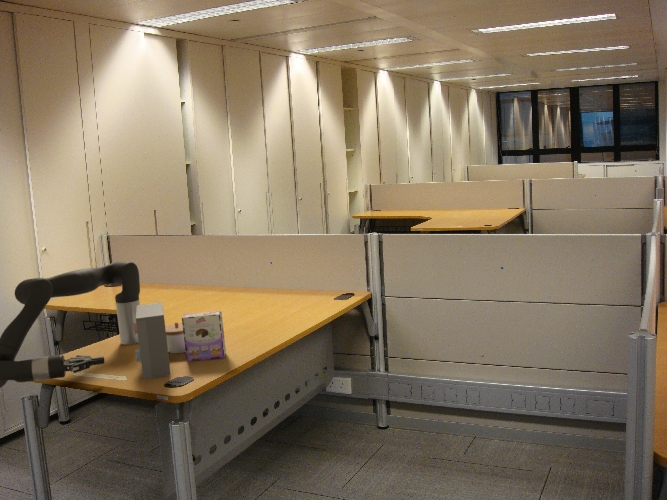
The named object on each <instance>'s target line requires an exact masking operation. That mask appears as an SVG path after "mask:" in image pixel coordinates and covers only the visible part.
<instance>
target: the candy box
mask: <svg viewBox="0 0 667 500" xmlns="http://www.w3.org/2000/svg"><path fill="white" fill-rule="evenodd" d="M181 323H182V324H183V333H184V341H185V349H186V352H185V357H186V362H195V361H201V360H202V361H203V360H204V361H206V360H214V359H224V358H225V357H226V355H227V350H226V340H225V331H224V322H223V313H222V310H220V311H219V310H217V311H209V312H208V311H207V312H196V313H185V314H184V315H183V316H182V317H181Z"/></svg>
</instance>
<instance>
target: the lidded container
mask: <svg viewBox="0 0 667 500" xmlns="http://www.w3.org/2000/svg"><path fill="white" fill-rule="evenodd" d="M165 329H166V338H167V347H168V352H169V353H171V354H181V353H186V349H185V341H184V333H183V324H182V322H181V323H180V322H177V321H175V322H174V323H172V324H168V325H165Z"/></svg>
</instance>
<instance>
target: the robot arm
mask: <svg viewBox="0 0 667 500" xmlns="http://www.w3.org/2000/svg"><path fill="white" fill-rule="evenodd" d="M108 285H121V292H119V293H117V294H116V295H115V296H114V299H115V306H116V309H115V310H116V316H117V324H118V331H119V339H120V344H121V345H125V346H126V345H136V344H139V341H138V333H136V334H135V330H134V322H136V310H137V305H141V303H140V293H141V284H140V271H139V268H138V266H137V264H136V263H135V262H132V261H115V262H112V263H109V264H106V265H103V266H99V267H88V268H87V267H86V268H80V269H76V270H72V271H68V272H64V273H60V274H57V275H54V276H49V277H45V278H44V277H35V278H29V279H28V278H27V279H24V280H22V281H20V282H19V283H18V284H17V286H16V287H15V289H14V297H15V299H16V300H17V301H18V302H19V303H20V304H22V305H23V307H22V309H21V310H20V311H19V313H18V314H17V315H16V317H14V319H13V320H12V321H11V322H10V323H9V324H8V325H7V326H6V328H5V329H4V330H3V332H2V333H1V335H0V389H1V388H3V387H4V386H5V385H6V384H7V382H8V381H14V382H17V383H27V382H28V383H29V382H34V381H47V380H53V379H54V380H55V379H61V378H65V376H66V372H71V373H73V374H75V373H79V372H81V371H85V370H88V369H90V368H92V367H93V366H99V365H104V364H105V361H106V360H105V357H104V356H97V357H92V356H91V355H76V356H72V357H69V358H67V359H65V356H64V355H63V354H55V355H47V356H41V357H36V358H31V359H26V360H16V357H17V355H18V353H19V352H20V349H21V347H22V345H23V343H24V341H25V339H26V336H27V335H28V333H29V332H30V330H31V328H32V327H33V325H34V323H35V322H36V321H37V319H38V318H39V316H40V314H41V313H42V312H43V310H44V309H45V307H46V306H47V305H48V304H49V302H50V300H51V299H52V298H62V297H63V298H65V297H73V296H74V297H75V296H80V295H83V294H89V293H92V292H94V291H95V290H96V289H98V288H99V287H101V286H108Z"/></svg>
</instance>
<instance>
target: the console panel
mask: <svg viewBox="0 0 667 500" xmlns="http://www.w3.org/2000/svg"><path fill="white" fill-rule="evenodd" d="M136 325H137V333H138V341H139V343H138V350H140V358H141V361H140V365H141V373H142V380H143V379H144V380H149V378H151V379H156V378H163V377H169V376H171V367H170V357H169V356H170V355H169V350H168V347H167V338H166V329H165V326H166V323H165V313H164V305H163V302H161V301H160V302H154V303H147V304H140V305H137V310H136Z"/></svg>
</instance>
